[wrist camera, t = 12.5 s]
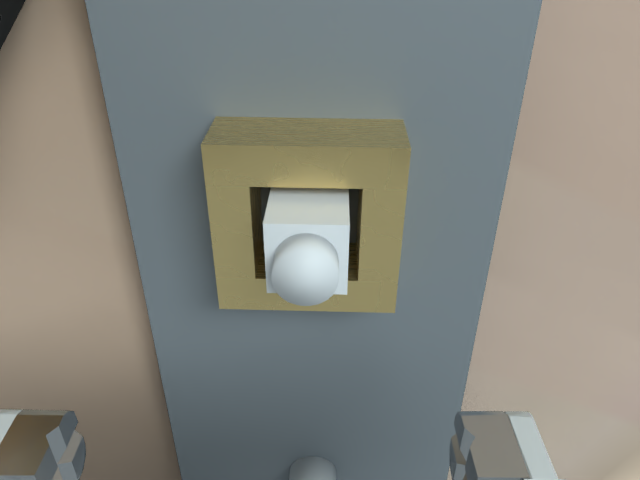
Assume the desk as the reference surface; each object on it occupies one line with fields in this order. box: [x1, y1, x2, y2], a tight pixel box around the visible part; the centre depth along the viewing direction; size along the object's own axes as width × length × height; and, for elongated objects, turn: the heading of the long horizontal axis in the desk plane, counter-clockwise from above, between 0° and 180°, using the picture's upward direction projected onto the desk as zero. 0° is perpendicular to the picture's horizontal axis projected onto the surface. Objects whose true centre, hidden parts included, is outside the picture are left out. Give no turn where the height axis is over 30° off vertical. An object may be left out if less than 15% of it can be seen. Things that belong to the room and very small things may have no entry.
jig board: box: [85, 0, 542, 480], centre depth 23 cm, size 14×32×6 cm, turn 0°
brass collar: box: [201, 116, 411, 313], centre depth 20 cm, size 6×6×2 cm
